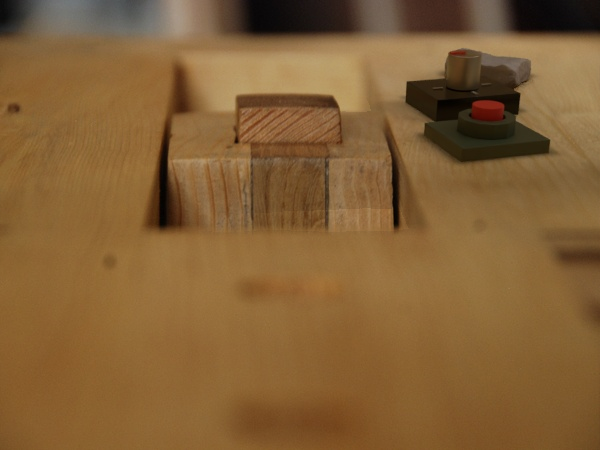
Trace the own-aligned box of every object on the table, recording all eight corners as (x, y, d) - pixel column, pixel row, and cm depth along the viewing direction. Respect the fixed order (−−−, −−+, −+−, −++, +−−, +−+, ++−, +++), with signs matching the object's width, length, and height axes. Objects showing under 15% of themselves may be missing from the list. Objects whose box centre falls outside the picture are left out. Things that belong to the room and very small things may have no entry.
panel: (482, 95, 117) (484, 74, 116) (518, 115, 109) (521, 91, 107) (405, 102, 114) (406, 80, 113) (435, 122, 105) (437, 98, 104)
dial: (469, 81, 113) (472, 46, 111) (484, 89, 109) (488, 53, 107) (440, 83, 111) (442, 48, 109) (454, 91, 108) (457, 55, 106)
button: (493, 113, 97) (494, 99, 96) (508, 122, 93) (510, 107, 93) (465, 116, 96) (466, 101, 95) (480, 124, 93) (481, 109, 92)
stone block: (464, 77, 134) (438, 77, 126) (470, 47, 132) (444, 46, 124) (533, 91, 128) (511, 92, 119) (540, 60, 126) (519, 59, 118)
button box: (504, 132, 102) (507, 100, 100) (548, 157, 93) (552, 124, 92) (423, 139, 99) (425, 107, 97) (461, 167, 90) (464, 132, 89)
